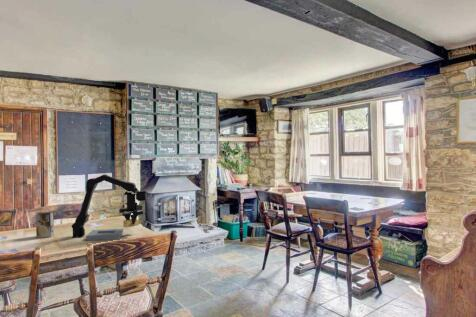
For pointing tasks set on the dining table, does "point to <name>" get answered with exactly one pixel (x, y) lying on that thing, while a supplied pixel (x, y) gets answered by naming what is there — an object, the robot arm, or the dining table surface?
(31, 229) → the dining table surface
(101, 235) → the keyed plate
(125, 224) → the bar
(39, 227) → the coffee box
